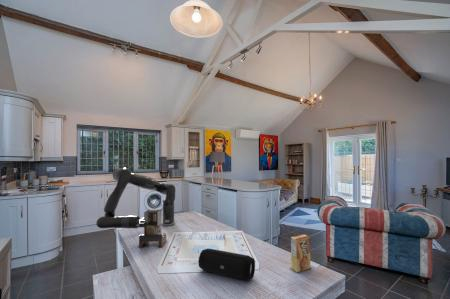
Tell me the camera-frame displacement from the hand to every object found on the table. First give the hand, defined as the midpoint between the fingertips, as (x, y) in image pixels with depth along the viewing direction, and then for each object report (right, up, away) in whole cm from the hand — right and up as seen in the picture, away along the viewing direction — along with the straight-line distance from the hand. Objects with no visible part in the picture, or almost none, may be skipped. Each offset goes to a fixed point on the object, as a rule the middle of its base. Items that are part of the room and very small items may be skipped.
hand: (156, 221), depth 137 cm
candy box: (+81, -12, -32) cm, 88 cm away
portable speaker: (+45, -12, -37) cm, 59 cm away
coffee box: (-2, -9, 0) cm, 9 cm away
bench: (-2, -14, 0) cm, 14 cm away
